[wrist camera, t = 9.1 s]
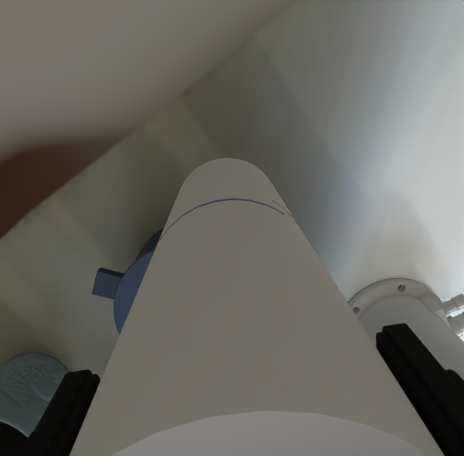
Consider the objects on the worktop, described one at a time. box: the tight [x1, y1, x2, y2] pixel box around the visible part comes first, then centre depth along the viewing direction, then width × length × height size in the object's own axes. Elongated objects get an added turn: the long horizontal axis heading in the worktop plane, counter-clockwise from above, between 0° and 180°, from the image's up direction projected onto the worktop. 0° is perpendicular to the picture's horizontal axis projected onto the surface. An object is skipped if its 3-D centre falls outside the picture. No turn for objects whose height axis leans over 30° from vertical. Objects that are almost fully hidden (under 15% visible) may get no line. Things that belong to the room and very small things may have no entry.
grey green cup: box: [0, 353, 68, 456], centre depth 46 cm, size 10×10×12 cm
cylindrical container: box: [70, 158, 444, 456], centre depth 19 cm, size 7×7×25 cm
